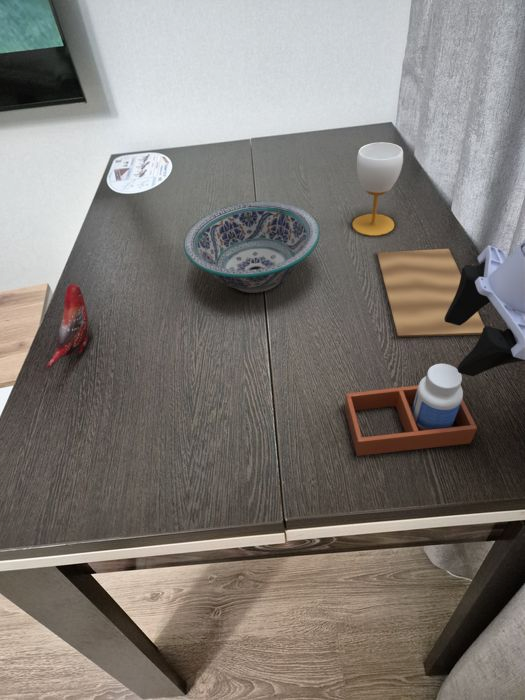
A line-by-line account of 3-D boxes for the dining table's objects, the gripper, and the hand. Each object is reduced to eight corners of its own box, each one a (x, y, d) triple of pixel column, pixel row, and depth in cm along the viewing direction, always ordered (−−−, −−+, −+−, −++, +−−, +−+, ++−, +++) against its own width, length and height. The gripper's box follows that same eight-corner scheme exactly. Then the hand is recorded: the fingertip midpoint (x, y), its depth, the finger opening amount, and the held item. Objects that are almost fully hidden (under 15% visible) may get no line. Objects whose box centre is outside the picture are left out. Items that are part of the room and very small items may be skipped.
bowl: (344, 287, 82) (347, 243, 75) (222, 336, 76) (213, 293, 69) (282, 229, 98) (279, 188, 91) (177, 265, 92) (166, 225, 85)
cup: (355, 213, 100) (359, 141, 89) (395, 215, 98) (406, 141, 86) (349, 234, 94) (353, 160, 83) (392, 237, 92) (403, 161, 81)
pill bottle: (459, 433, 59) (478, 387, 52) (422, 443, 58) (436, 398, 51) (438, 401, 62) (453, 355, 55) (403, 411, 62) (413, 365, 55)
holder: (448, 396, 63) (453, 381, 60) (470, 443, 57) (477, 428, 55) (344, 408, 63) (345, 393, 61) (356, 456, 58) (358, 441, 55)
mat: (486, 334, 71) (487, 332, 70) (397, 337, 72) (397, 335, 71) (448, 250, 87) (449, 248, 87) (376, 254, 88) (377, 252, 88)
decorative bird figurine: (103, 320, 82) (82, 276, 75) (71, 394, 70) (43, 351, 62) (88, 320, 82) (66, 277, 75) (54, 395, 70) (24, 352, 63)
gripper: (491, 204, 45) (418, 294, 55) (536, 304, 36) (439, 390, 46) (549, 223, 46) (467, 307, 57) (607, 325, 37) (497, 403, 47)
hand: (458, 345), depth 51 cm, fingers open, 7 cm apart
